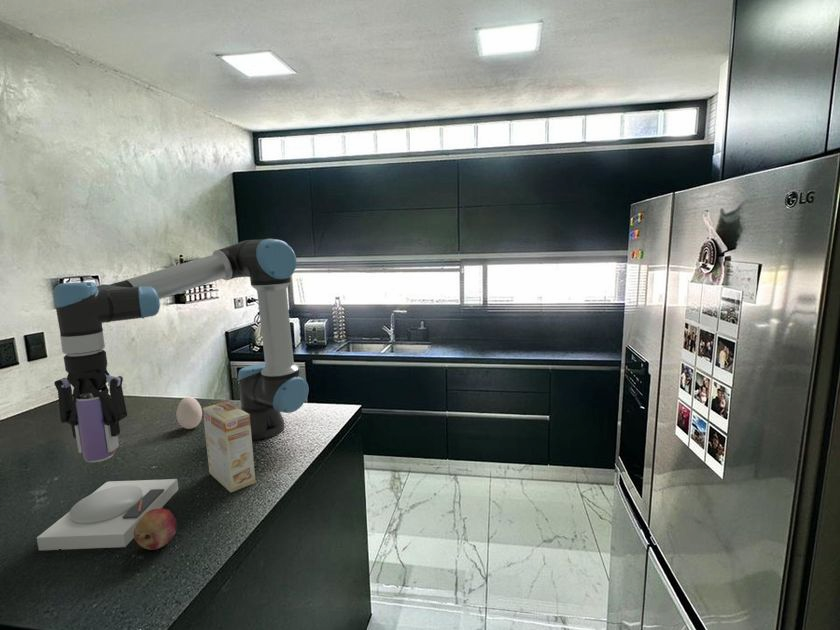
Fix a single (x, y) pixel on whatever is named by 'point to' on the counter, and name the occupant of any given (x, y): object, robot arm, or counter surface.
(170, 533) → the fruit
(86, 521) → the scale
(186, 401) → the egg
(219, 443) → the coffeecake box
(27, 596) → the counter surface
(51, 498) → the counter surface
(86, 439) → the beverage can
